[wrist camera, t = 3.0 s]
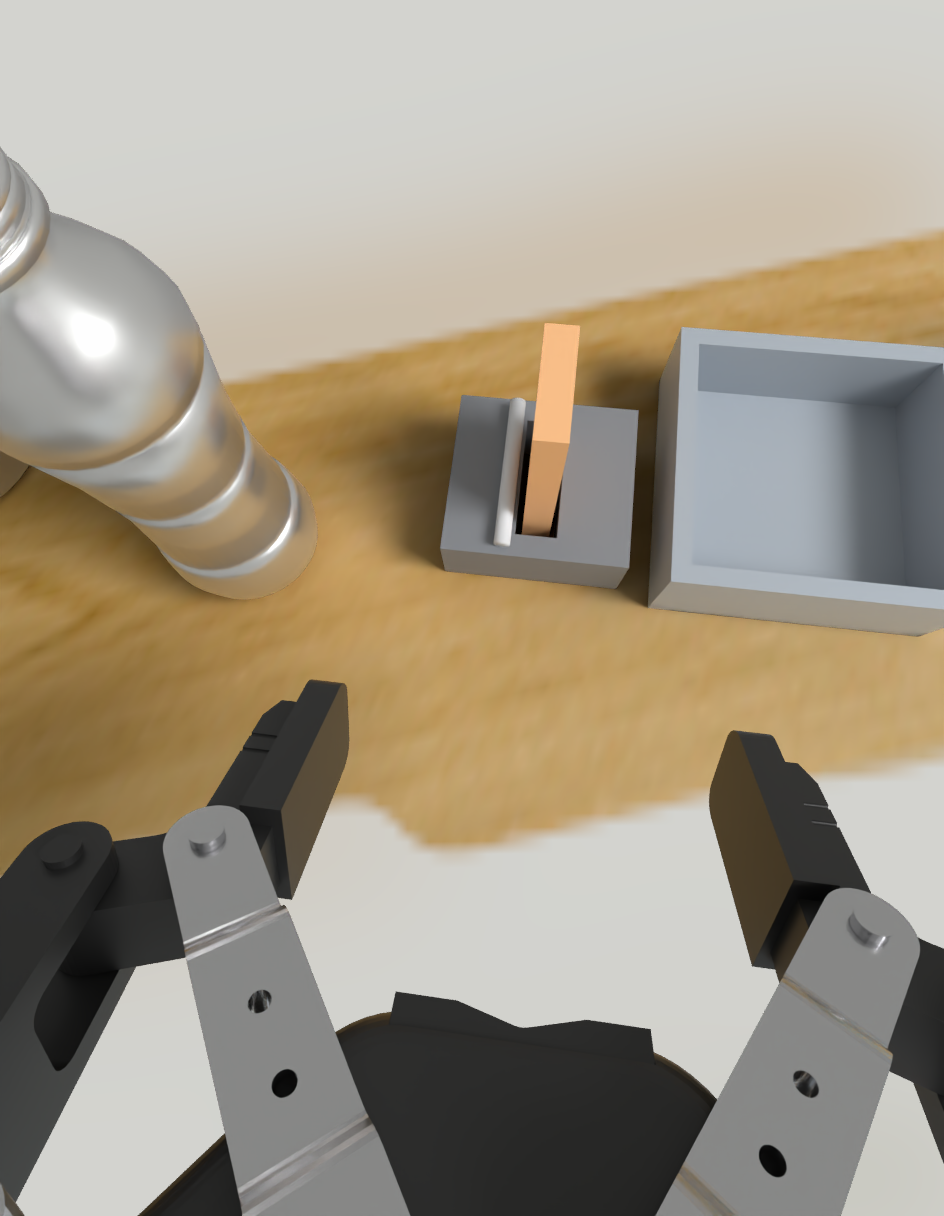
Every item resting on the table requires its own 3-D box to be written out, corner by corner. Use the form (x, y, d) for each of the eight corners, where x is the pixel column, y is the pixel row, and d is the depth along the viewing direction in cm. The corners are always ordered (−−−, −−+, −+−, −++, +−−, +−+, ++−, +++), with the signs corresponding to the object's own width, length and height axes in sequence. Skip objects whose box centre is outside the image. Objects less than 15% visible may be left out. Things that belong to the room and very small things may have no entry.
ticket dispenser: (445, 570, 30) (438, 542, 27) (464, 429, 32) (461, 385, 29) (616, 589, 30) (632, 562, 26) (625, 444, 32) (641, 401, 28)
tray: (647, 607, 29) (670, 581, 26) (659, 381, 33) (681, 326, 29) (918, 636, 29) (984, 613, 25) (904, 401, 32) (960, 348, 28)
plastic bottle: (197, 487, 32) (-257, 34, 13) (333, 483, 32) (84, 17, 12) (184, 613, 30) (-363, 312, 11) (327, 609, 30) (28, 296, 11)
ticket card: (520, 548, 30) (532, 440, 21) (529, 463, 32) (544, 323, 22) (545, 551, 30) (569, 443, 21) (553, 465, 32) (580, 325, 22)
